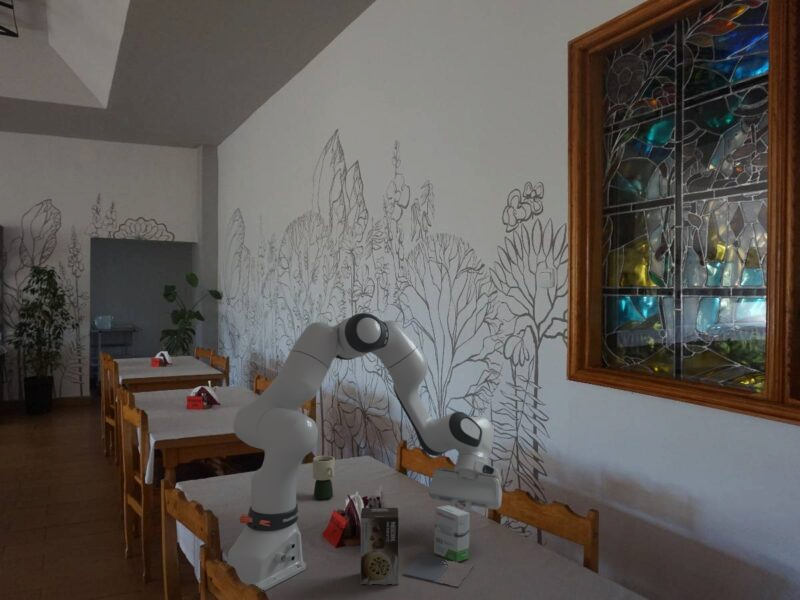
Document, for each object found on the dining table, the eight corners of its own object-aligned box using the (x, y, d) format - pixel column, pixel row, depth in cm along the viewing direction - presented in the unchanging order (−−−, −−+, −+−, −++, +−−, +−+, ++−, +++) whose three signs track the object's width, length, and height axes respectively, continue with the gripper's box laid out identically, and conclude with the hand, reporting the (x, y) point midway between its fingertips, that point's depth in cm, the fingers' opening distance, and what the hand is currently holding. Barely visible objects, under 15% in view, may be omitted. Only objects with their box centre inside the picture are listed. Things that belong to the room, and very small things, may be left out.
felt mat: (458, 587, 145) (458, 585, 145) (403, 575, 151) (403, 573, 151) (473, 566, 156) (473, 565, 156) (421, 555, 162) (421, 554, 162)
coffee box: (397, 572, 152) (399, 507, 152) (398, 585, 146) (399, 517, 146) (360, 572, 152) (361, 506, 152) (359, 585, 146) (360, 516, 145)
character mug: (341, 500, 202) (342, 460, 202) (322, 505, 198) (323, 464, 197) (324, 491, 211) (324, 452, 210) (305, 495, 206) (305, 456, 206)
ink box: (469, 559, 160) (471, 512, 160) (455, 563, 157) (457, 515, 157) (446, 548, 167) (448, 503, 167) (432, 552, 164) (434, 506, 164)
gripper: (432, 460, 177) (419, 505, 169) (503, 470, 169) (493, 518, 161) (438, 472, 182) (424, 516, 173) (507, 482, 173) (497, 529, 165)
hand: (458, 517), depth 167 cm, fingers closed
